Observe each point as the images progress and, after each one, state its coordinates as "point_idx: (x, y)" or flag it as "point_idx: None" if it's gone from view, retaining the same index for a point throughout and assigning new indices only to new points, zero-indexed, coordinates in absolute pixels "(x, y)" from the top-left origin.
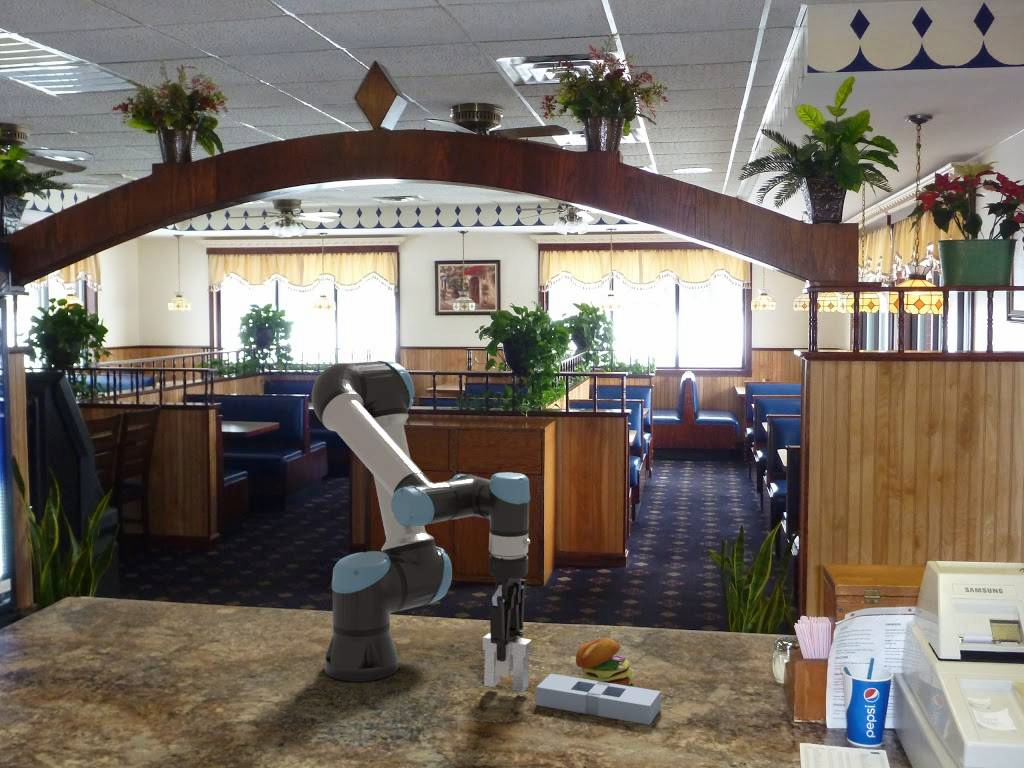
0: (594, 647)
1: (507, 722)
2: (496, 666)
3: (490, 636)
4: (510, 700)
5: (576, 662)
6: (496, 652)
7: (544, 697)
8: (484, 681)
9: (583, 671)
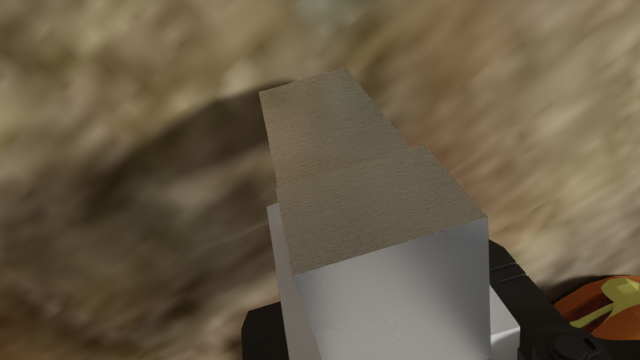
0: None
1: (89, 341)
2: (274, 245)
3: (381, 302)
4: (266, 222)
5: (605, 336)
6: (284, 321)
7: None
8: (260, 99)
9: (586, 321)
